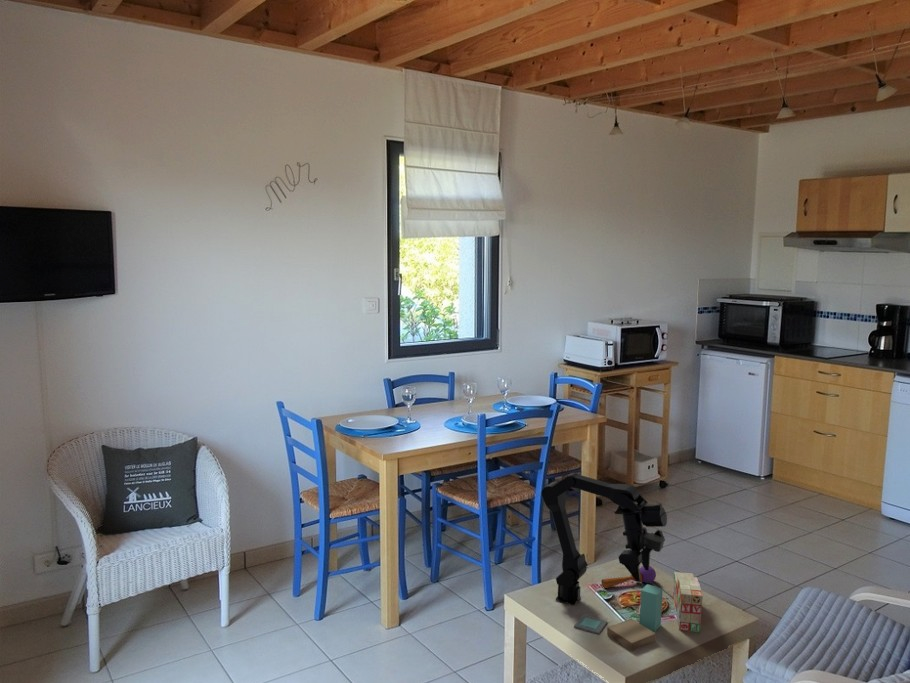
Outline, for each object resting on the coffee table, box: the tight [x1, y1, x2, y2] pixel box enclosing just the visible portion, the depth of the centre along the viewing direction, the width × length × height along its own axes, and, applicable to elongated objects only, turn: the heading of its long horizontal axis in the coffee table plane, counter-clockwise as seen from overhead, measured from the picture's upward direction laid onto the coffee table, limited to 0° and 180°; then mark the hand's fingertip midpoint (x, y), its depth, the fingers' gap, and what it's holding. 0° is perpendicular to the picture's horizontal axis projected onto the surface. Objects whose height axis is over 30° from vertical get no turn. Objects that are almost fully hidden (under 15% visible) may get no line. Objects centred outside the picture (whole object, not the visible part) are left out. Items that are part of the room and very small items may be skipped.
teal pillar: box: [638, 583, 664, 633], centre depth 223 cm, size 5×5×12 cm
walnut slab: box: [606, 618, 657, 652], centre depth 216 cm, size 10×10×3 cm
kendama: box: [600, 565, 657, 589], centre depth 251 cm, size 6×6×20 cm
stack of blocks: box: [672, 571, 704, 633], centre depth 230 cm, size 21×6×12 cm, turn 169°
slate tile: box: [573, 614, 608, 635], centre depth 224 cm, size 8×8×1 cm
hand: (642, 575), depth 225 cm, fingers open, 9 cm apart
